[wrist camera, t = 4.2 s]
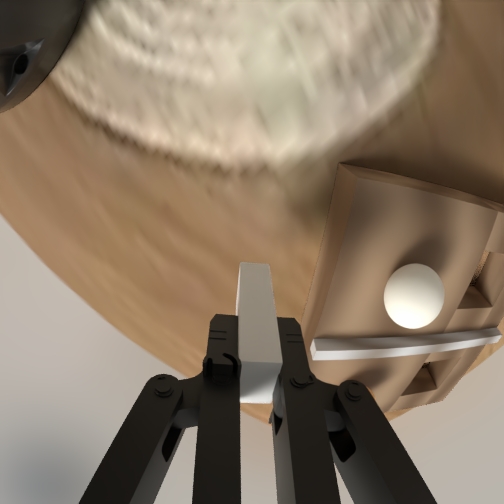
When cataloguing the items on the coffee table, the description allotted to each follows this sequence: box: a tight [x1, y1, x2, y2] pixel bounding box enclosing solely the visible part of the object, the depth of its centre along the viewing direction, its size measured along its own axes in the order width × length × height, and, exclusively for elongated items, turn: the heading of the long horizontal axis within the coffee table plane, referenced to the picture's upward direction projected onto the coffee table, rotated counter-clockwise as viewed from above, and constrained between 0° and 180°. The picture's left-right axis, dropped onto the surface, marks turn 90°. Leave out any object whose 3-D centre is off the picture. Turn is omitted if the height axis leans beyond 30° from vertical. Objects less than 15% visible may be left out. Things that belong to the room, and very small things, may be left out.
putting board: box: [300, 163, 504, 413], centre depth 22 cm, size 21×24×5 cm
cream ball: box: [384, 264, 445, 329], centre depth 16 cm, size 4×4×4 cm
